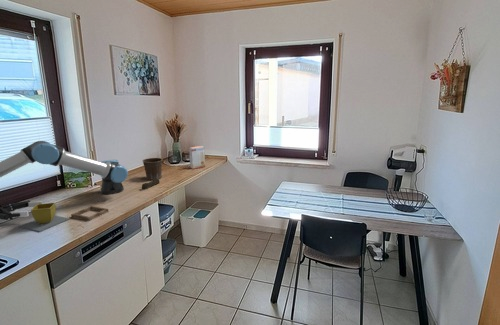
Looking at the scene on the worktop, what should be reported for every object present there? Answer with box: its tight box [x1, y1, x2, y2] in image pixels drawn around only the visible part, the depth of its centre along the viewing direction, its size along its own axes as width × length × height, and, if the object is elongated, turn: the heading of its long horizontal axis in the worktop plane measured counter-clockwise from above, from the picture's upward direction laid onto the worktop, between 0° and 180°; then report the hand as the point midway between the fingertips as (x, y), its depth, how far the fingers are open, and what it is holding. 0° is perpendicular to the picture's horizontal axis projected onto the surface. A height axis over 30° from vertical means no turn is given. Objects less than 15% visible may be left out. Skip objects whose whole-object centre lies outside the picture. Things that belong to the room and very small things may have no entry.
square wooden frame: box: [70, 205, 109, 222], centre depth 159 cm, size 13×13×2 cm
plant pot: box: [142, 157, 163, 181], centre depth 231 cm, size 16×16×16 cm
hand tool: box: [141, 179, 160, 191], centre depth 210 cm, size 19×4×5 cm, turn 160°
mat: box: [18, 215, 70, 233], centre depth 148 cm, size 16×16×1 cm
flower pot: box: [30, 202, 57, 224], centre depth 147 cm, size 9×9×9 cm
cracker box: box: [188, 145, 206, 170], centre depth 268 cm, size 14×6×21 cm, turn 130°
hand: (35, 208), depth 145 cm, fingers open, 13 cm apart
